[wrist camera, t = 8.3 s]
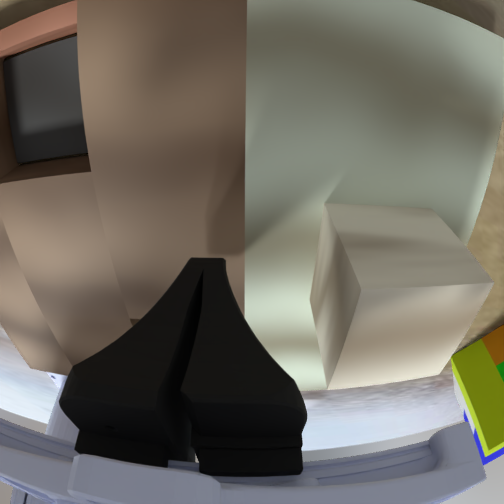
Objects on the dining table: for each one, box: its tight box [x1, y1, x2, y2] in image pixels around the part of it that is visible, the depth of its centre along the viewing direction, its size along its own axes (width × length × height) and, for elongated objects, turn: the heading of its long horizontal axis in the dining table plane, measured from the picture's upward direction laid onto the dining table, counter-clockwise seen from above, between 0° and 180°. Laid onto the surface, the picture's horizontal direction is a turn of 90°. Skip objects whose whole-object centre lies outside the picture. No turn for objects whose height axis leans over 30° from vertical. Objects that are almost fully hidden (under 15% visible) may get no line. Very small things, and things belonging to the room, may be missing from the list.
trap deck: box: [0, 0, 504, 391], centre depth 14 cm, size 22×28×2 cm
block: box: [309, 203, 494, 390], centre depth 12 cm, size 5×5×5 cm
